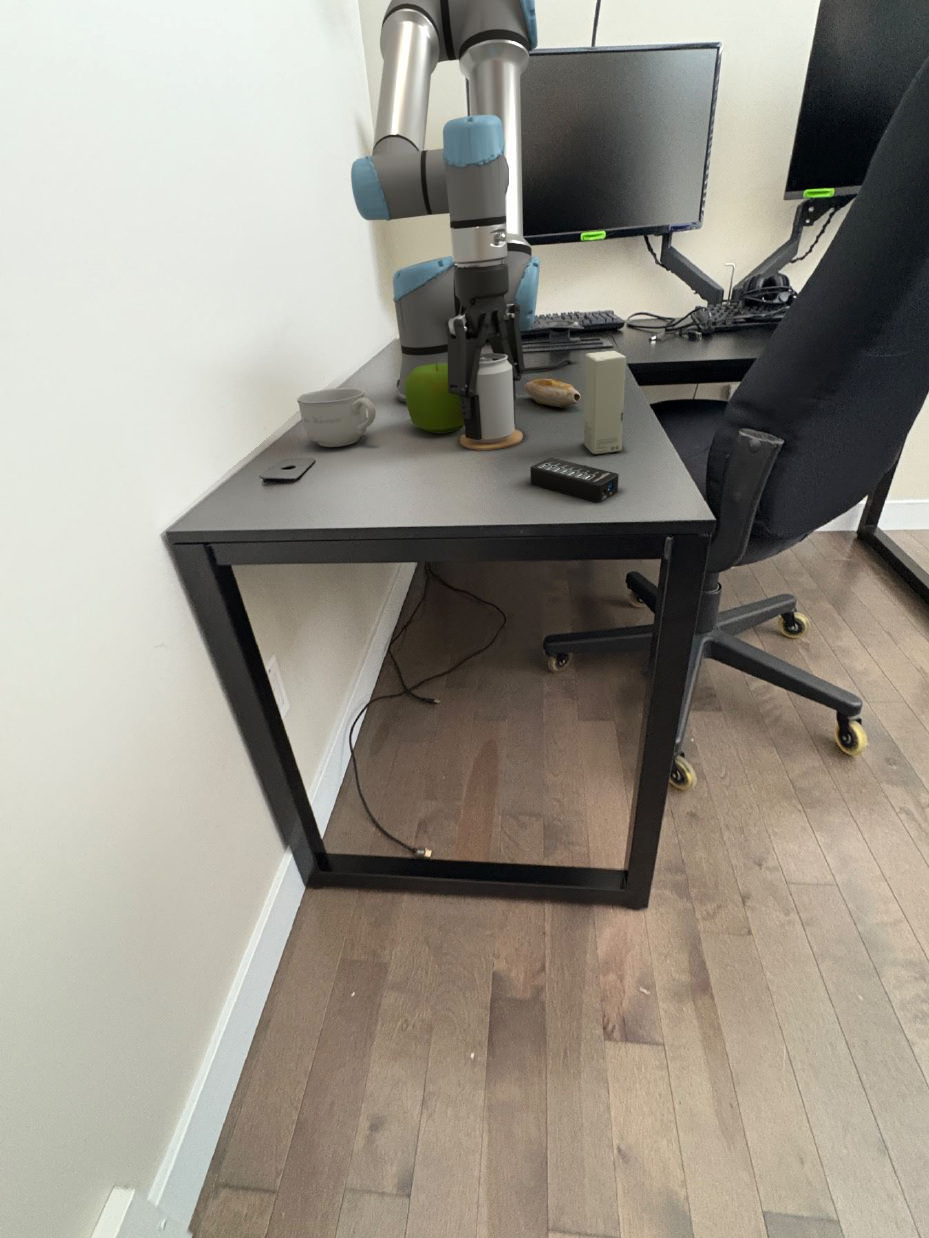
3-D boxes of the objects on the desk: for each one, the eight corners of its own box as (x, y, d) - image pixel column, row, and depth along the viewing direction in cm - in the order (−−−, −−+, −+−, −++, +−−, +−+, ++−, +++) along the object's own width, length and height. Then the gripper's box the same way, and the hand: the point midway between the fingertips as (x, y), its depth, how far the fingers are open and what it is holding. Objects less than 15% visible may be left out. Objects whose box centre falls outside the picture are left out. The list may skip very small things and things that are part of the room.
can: (511, 444, 92) (508, 361, 85) (463, 445, 93) (456, 363, 86) (517, 428, 97) (515, 349, 91) (472, 429, 99) (466, 352, 92)
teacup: (295, 446, 101) (283, 397, 97) (346, 427, 107) (337, 381, 103) (345, 461, 93) (335, 408, 88) (397, 440, 99) (390, 390, 95)
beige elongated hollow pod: (540, 393, 115) (539, 369, 112) (587, 409, 104) (588, 383, 102) (517, 399, 113) (516, 375, 110) (563, 416, 102) (563, 389, 100)
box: (622, 452, 86) (628, 356, 79) (592, 456, 86) (595, 360, 78) (610, 440, 90) (615, 349, 83) (582, 444, 90) (584, 352, 83)
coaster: (488, 425, 101) (488, 423, 101) (535, 435, 95) (535, 432, 95) (447, 443, 96) (447, 440, 96) (494, 454, 90) (494, 451, 90)
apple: (397, 435, 102) (387, 367, 95) (436, 416, 109) (428, 352, 102) (450, 442, 96) (443, 371, 90) (487, 422, 103) (483, 355, 97)
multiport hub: (550, 473, 82) (550, 456, 81) (619, 491, 75) (620, 473, 74) (529, 483, 80) (528, 467, 78) (598, 503, 73) (599, 485, 71)
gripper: (447, 273, 74) (463, 454, 87) (547, 254, 85) (548, 416, 98) (407, 274, 78) (428, 446, 91) (507, 255, 90) (513, 410, 103)
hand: (490, 430), depth 95 cm, fingers closed on can, 7 cm apart
